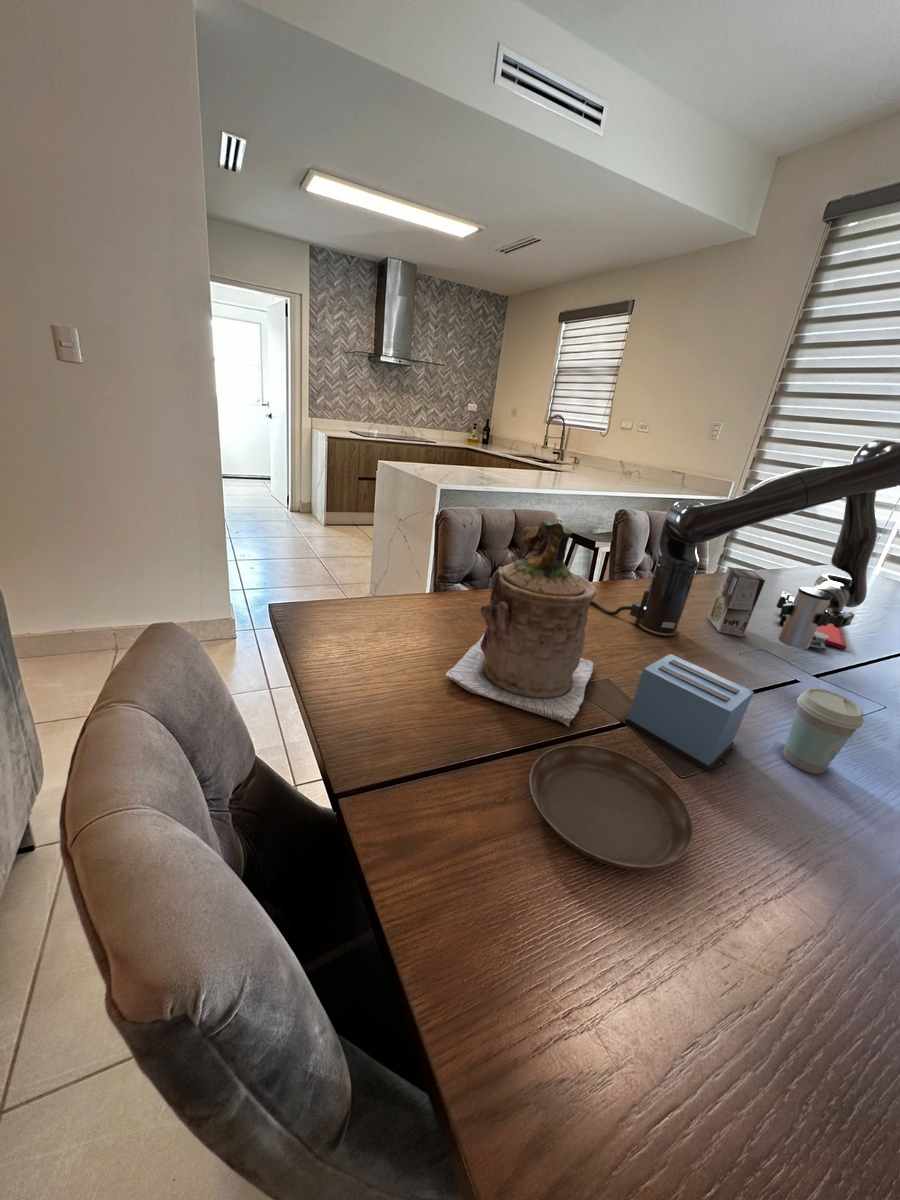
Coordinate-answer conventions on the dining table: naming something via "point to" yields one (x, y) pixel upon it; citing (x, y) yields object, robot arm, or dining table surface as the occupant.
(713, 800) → the dining table surface
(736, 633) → the coffee box
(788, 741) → the coffee cup
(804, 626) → the canister
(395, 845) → the dining table surface
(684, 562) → the robot arm
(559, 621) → the cookie jar
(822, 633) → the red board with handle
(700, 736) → the toaster
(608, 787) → the plant saucer
